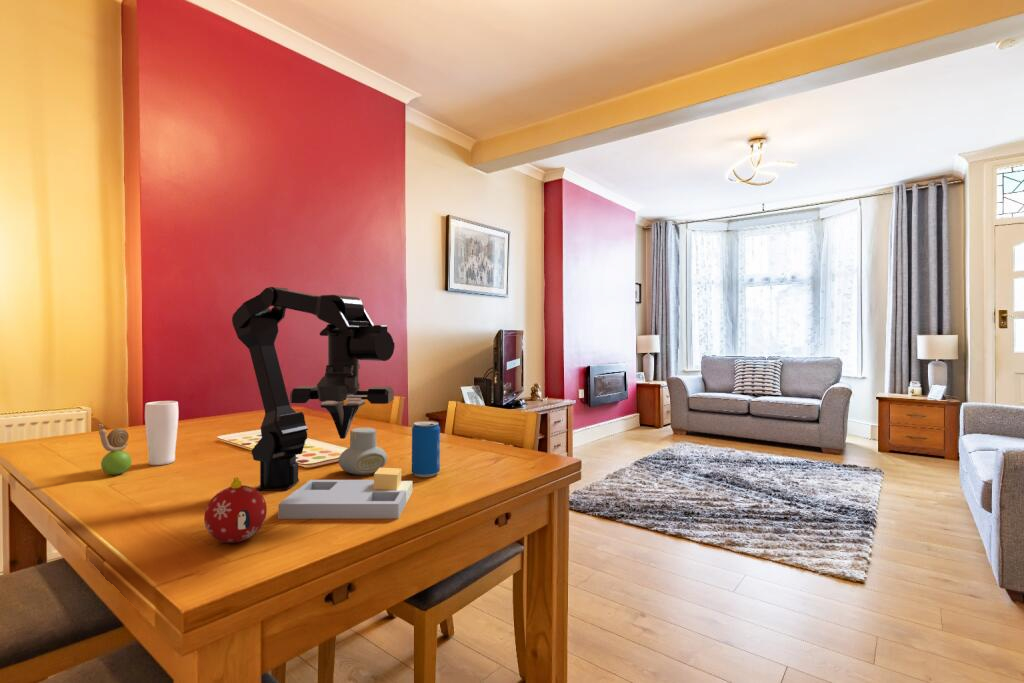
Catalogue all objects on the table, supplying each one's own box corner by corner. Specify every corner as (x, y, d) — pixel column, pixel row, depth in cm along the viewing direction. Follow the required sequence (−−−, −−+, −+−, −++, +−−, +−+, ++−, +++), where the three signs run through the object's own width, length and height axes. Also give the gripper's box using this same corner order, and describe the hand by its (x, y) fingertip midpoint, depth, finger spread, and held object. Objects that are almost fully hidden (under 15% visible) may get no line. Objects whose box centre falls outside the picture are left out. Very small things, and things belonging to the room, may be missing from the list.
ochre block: (373, 488, 97) (374, 473, 97) (378, 481, 101) (379, 467, 101) (396, 490, 97) (397, 474, 97) (400, 483, 102) (401, 468, 102)
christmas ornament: (260, 525, 84) (260, 467, 84) (271, 543, 78) (272, 479, 77) (201, 538, 79) (201, 475, 79) (207, 557, 72) (207, 489, 72)
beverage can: (433, 479, 112) (434, 426, 112) (407, 477, 113) (407, 424, 113) (443, 471, 118) (444, 421, 118) (418, 469, 120) (418, 419, 119)
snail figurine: (90, 477, 110) (89, 423, 110) (119, 470, 116) (119, 419, 116) (109, 479, 109) (109, 425, 108) (137, 471, 115) (137, 420, 115)
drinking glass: (151, 460, 125) (151, 401, 125) (182, 458, 127) (182, 400, 127) (140, 467, 118) (140, 405, 118) (173, 465, 120) (173, 404, 120)
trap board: (278, 518, 88) (278, 503, 88) (310, 491, 103) (310, 478, 103) (398, 518, 88) (398, 503, 88) (412, 491, 103) (412, 478, 103)
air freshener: (346, 480, 111) (347, 435, 110) (333, 471, 117) (333, 429, 117) (392, 471, 118) (392, 429, 117) (377, 464, 124) (377, 424, 124)
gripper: (277, 361, 89) (277, 447, 90) (381, 362, 90) (381, 448, 90) (301, 358, 101) (301, 434, 101) (394, 359, 101) (393, 435, 102)
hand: (343, 438), depth 98 cm, fingers closed
